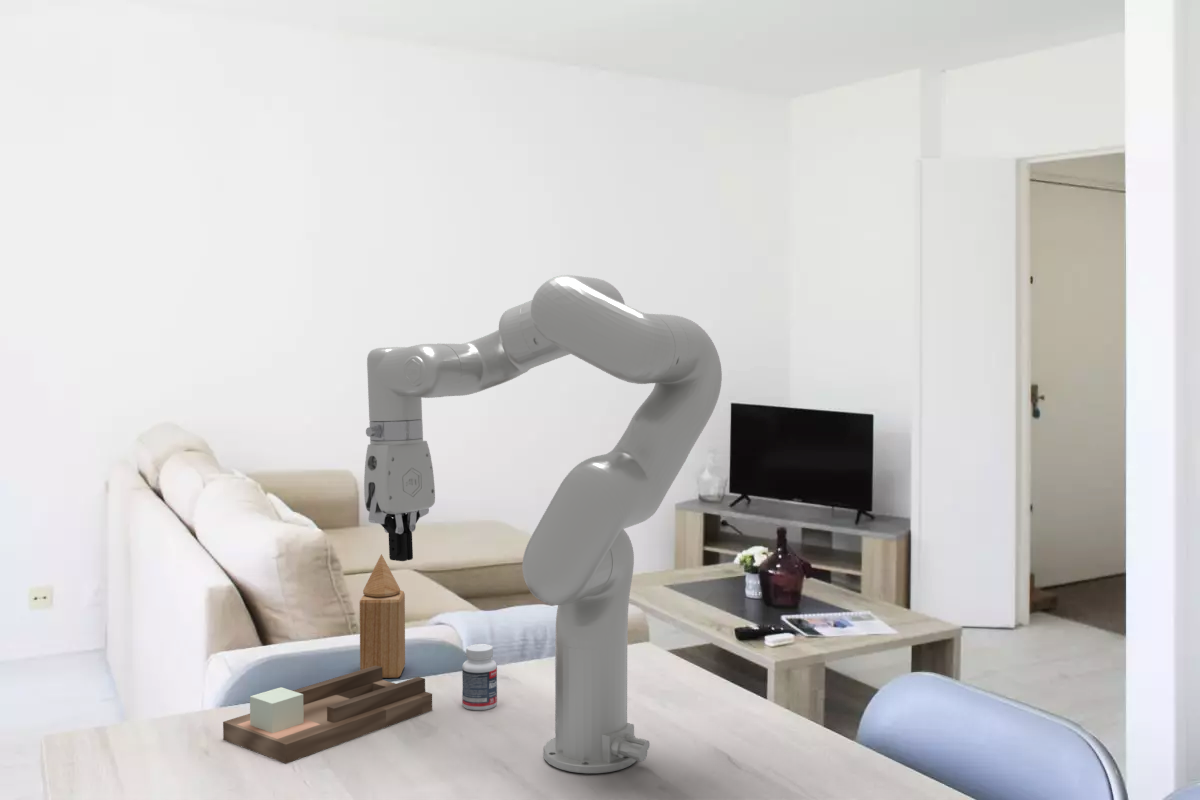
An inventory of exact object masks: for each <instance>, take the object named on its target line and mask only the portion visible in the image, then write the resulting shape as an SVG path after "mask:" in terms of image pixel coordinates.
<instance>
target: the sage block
mask: <svg viewBox="0 0 1200 800" xmlns="http://www.w3.org/2000/svg"><path fill="white" fill-rule="evenodd" d="M249 710H250V711H249V714H250V725H251V726H254V727H257V728H260V729H262V730H265V731H268V732H271V733H275V732H278V731H281V730H284V729H287V728H290V727H293V726H296V725H299V724H302V723H304V715H303V694H301V693H298V692H295V691H293V690H291V689H288V688H285V687H277V688H273V689H270V690H267V691H266V690H265V691H263V692H260V693H256V694H254V695H250V696H249Z"/></svg>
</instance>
